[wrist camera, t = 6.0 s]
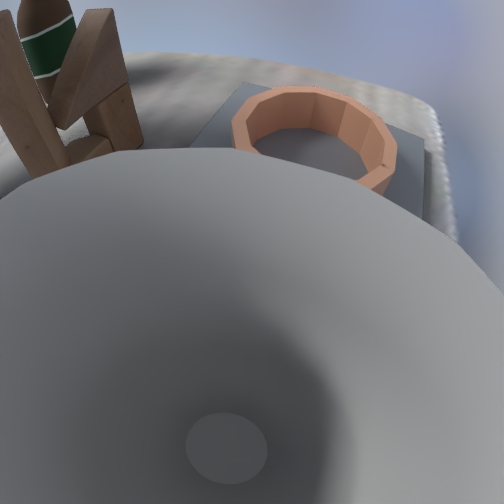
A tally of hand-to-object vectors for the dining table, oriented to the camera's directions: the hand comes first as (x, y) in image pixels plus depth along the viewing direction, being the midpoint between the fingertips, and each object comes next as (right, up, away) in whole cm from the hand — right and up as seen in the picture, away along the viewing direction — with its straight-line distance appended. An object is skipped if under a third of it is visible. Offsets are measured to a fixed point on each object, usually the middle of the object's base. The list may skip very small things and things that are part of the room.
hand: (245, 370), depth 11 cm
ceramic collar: (+5, +11, +14) cm, 18 cm away
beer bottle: (-25, +27, +24) cm, 44 cm away
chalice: (-1, -6, +6) cm, 9 cm away
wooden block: (-14, +12, +16) cm, 24 cm away
